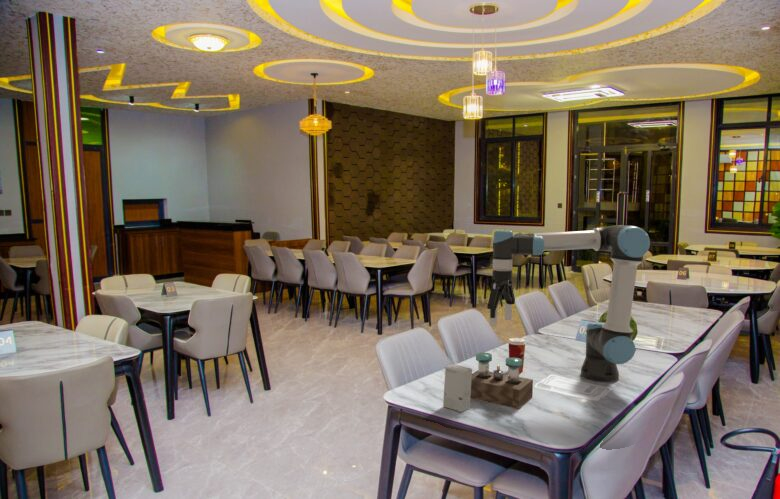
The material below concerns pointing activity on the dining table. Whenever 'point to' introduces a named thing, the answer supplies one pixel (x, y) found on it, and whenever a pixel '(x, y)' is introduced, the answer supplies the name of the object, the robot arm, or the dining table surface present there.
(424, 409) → the dining table surface
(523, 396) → the mount
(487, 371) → the knob
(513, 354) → the paper cup
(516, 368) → the green capped bottle
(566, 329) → the dining table surface
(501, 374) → the potentiometer
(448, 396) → the skincare box
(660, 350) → the dining table surface
